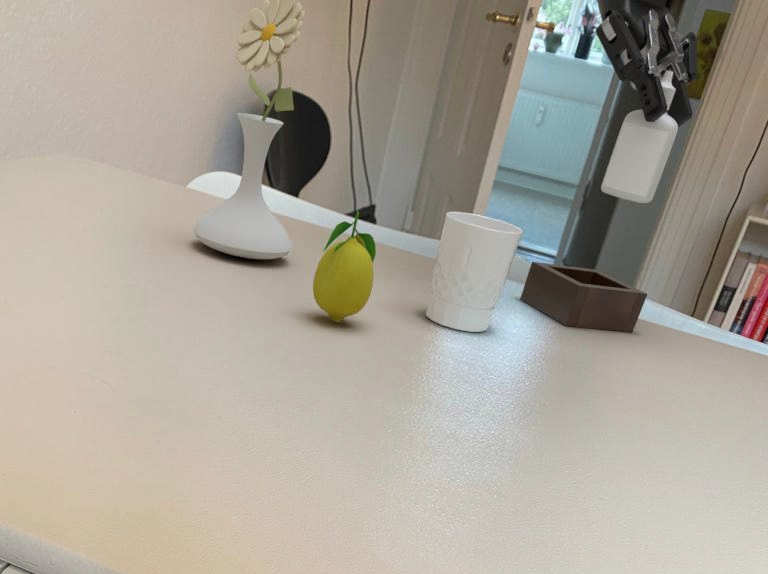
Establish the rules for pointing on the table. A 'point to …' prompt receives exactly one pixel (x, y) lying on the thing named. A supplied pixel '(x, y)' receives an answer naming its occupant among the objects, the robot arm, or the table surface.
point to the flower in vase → (256, 142)
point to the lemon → (345, 273)
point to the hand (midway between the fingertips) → (670, 119)
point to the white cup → (471, 270)
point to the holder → (582, 297)
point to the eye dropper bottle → (641, 152)
